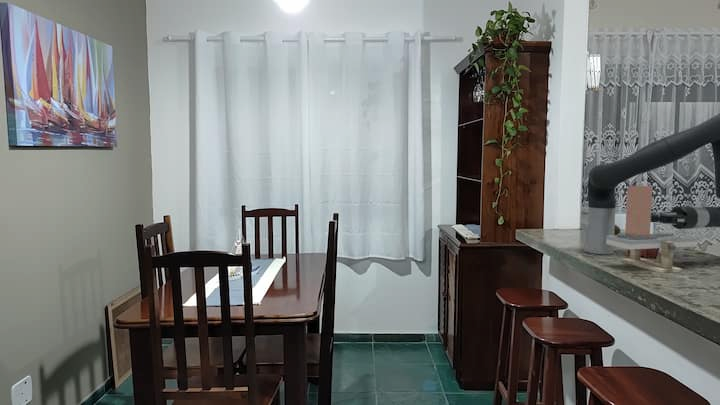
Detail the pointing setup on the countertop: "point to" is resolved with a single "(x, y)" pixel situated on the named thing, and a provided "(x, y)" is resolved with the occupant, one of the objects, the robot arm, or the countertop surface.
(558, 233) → the countertop surface
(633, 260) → the pivot stand
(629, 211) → the block
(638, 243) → the beam
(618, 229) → the potato
